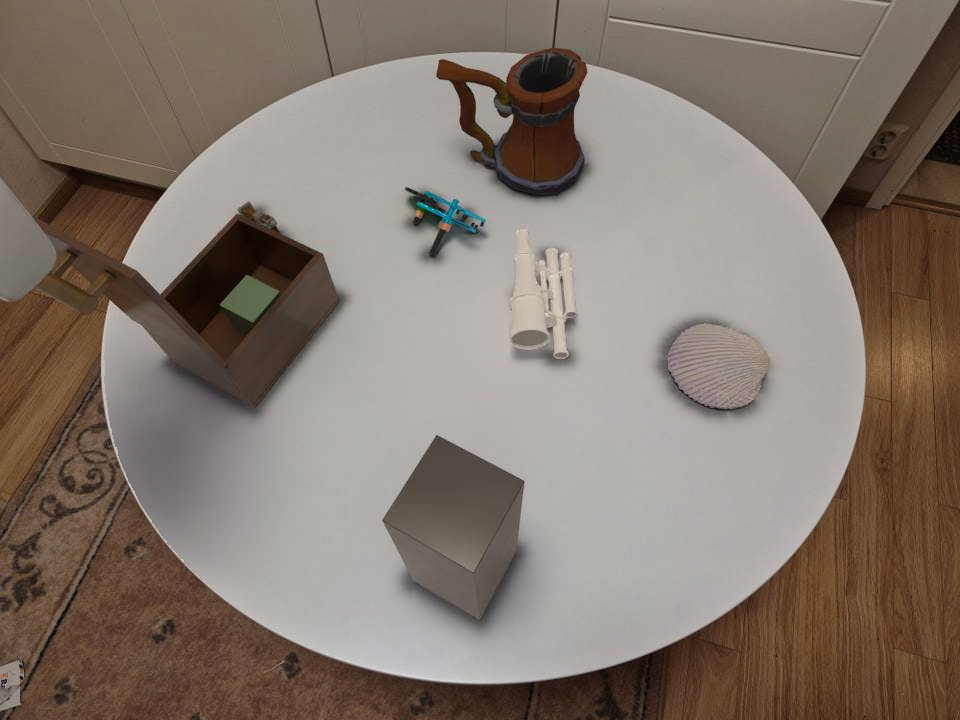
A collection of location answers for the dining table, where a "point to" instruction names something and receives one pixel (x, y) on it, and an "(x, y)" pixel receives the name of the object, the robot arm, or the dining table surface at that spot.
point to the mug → (527, 118)
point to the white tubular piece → (540, 298)
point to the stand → (457, 525)
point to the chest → (278, 330)
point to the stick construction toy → (447, 218)
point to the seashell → (718, 365)
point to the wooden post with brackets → (258, 216)
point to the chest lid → (117, 292)
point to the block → (248, 303)
